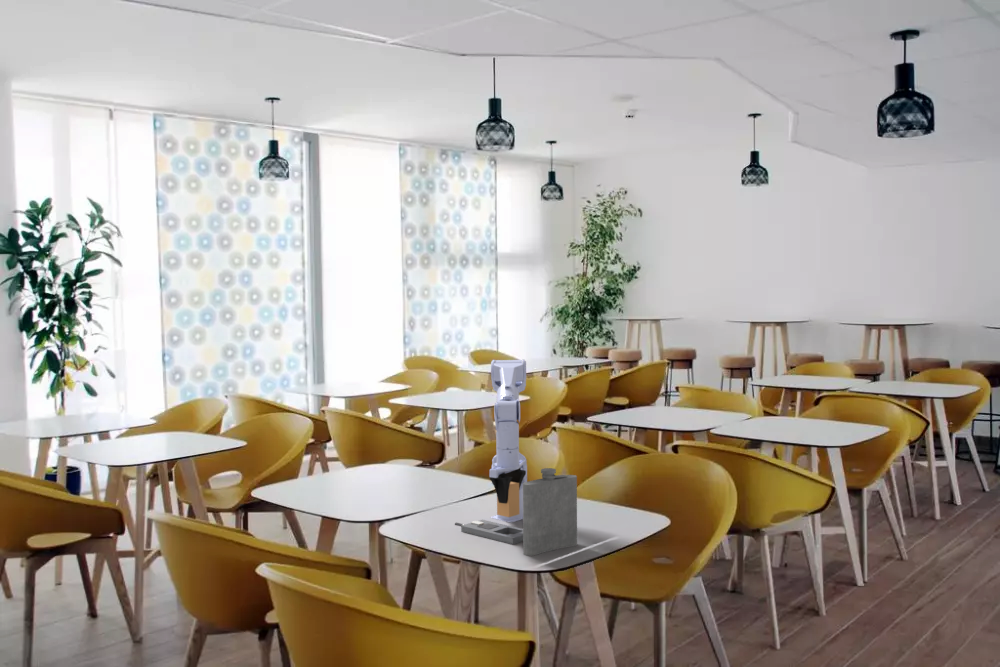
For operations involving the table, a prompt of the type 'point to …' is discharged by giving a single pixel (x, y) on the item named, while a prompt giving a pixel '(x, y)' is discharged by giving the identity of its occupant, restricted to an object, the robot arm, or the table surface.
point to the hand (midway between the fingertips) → (508, 500)
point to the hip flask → (549, 513)
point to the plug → (510, 502)
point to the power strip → (493, 531)
